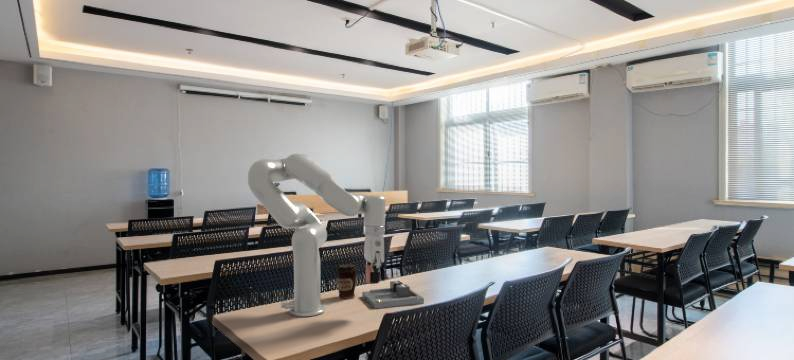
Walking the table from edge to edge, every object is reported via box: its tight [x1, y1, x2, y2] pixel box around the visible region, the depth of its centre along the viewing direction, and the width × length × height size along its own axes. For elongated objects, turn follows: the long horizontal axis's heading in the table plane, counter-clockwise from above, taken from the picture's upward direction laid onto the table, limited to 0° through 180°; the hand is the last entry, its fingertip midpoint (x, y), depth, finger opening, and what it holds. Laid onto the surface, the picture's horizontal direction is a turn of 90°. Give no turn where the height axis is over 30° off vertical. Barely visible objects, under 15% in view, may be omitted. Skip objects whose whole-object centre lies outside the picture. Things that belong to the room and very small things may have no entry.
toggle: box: [396, 283, 411, 298], centre depth 175 cm, size 4×4×4 cm
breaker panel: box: [361, 280, 425, 310], centre depth 178 cm, size 20×17×6 cm
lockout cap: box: [365, 264, 378, 285], centre depth 160 cm, size 5×5×6 cm
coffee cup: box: [336, 264, 358, 300], centre depth 182 cm, size 9×8×13 cm
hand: (372, 280), depth 160 cm, fingers closed on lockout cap, 4 cm apart
